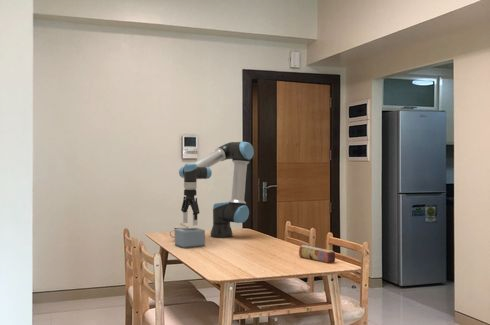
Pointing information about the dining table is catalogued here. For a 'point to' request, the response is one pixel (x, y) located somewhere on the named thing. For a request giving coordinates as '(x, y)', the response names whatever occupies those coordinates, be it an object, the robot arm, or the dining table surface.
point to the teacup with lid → (178, 228)
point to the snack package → (317, 254)
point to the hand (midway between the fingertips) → (190, 224)
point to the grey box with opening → (190, 237)
